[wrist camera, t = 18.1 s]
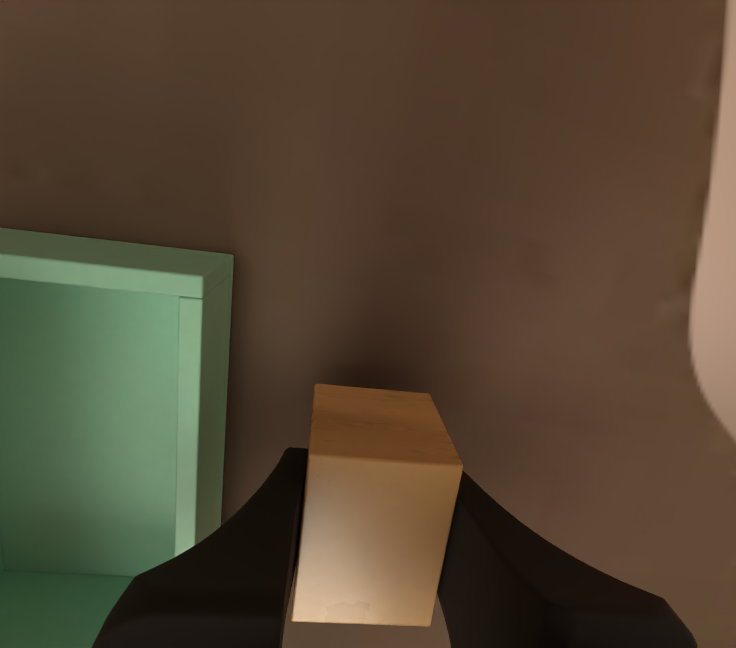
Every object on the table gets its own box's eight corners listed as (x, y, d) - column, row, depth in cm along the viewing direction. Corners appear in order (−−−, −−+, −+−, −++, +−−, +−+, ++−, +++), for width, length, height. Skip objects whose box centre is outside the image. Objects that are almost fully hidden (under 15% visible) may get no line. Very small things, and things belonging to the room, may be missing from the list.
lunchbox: (234, 254, 15) (203, 276, 12) (218, 579, 19) (190, 673, 15) (-37, 223, 14) (-162, 235, 11) (1, 569, 18) (-83, 666, 14)
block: (407, 521, 16) (430, 627, 12) (300, 515, 16) (290, 622, 12) (430, 393, 15) (464, 465, 11) (314, 382, 14) (308, 454, 10)
